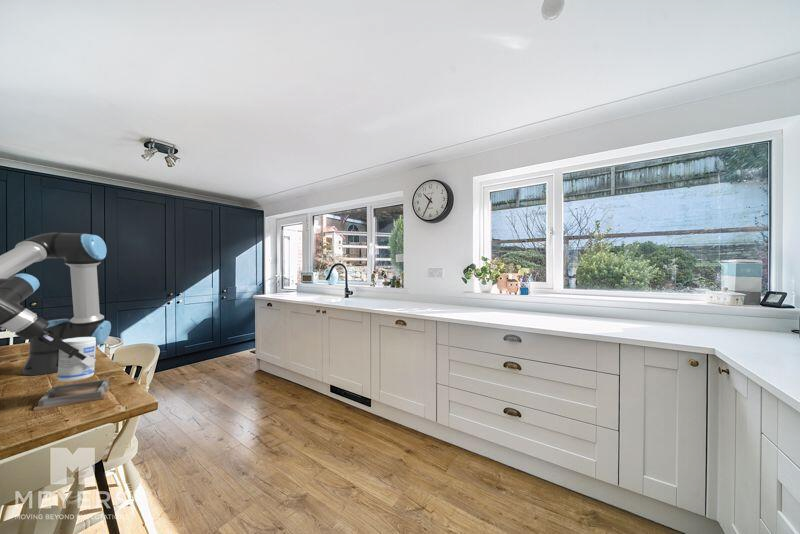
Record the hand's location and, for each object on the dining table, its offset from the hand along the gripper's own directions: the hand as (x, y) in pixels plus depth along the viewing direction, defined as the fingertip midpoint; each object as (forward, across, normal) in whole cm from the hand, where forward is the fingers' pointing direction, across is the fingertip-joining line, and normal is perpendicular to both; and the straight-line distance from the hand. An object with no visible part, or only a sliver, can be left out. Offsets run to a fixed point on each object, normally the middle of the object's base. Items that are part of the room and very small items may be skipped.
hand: (89, 360), depth 116 cm
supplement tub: (+2, 0, -7) cm, 7 cm away
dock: (+7, 0, -11) cm, 13 cm away
